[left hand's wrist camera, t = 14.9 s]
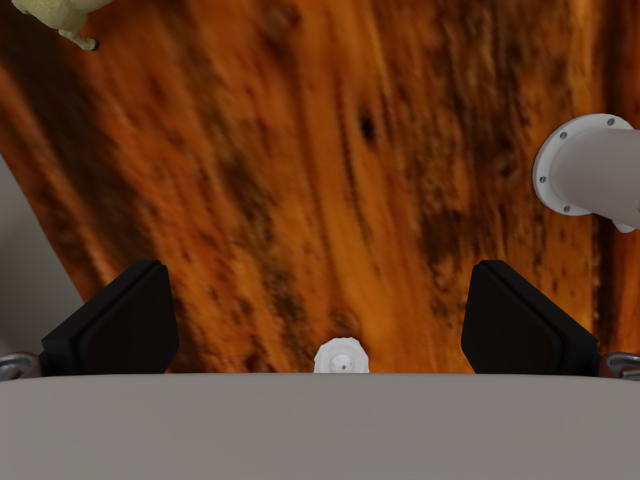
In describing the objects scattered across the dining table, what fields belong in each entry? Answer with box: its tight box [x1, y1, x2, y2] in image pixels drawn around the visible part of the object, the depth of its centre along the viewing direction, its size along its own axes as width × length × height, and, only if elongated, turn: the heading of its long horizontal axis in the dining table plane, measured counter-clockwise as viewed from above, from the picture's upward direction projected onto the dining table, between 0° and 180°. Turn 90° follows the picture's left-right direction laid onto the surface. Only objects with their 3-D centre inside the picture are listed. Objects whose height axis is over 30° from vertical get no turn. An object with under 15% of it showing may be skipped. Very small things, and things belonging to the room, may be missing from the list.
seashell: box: [314, 337, 369, 373], centre depth 53 cm, size 8×5×8 cm
